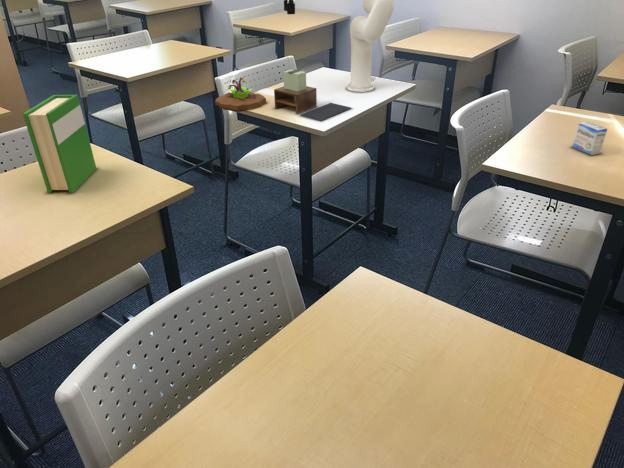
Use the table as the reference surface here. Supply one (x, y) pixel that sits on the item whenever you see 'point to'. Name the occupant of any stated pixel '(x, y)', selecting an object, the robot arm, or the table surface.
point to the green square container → (294, 80)
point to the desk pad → (325, 111)
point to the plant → (240, 98)
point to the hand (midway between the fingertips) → (289, 12)
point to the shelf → (296, 98)
